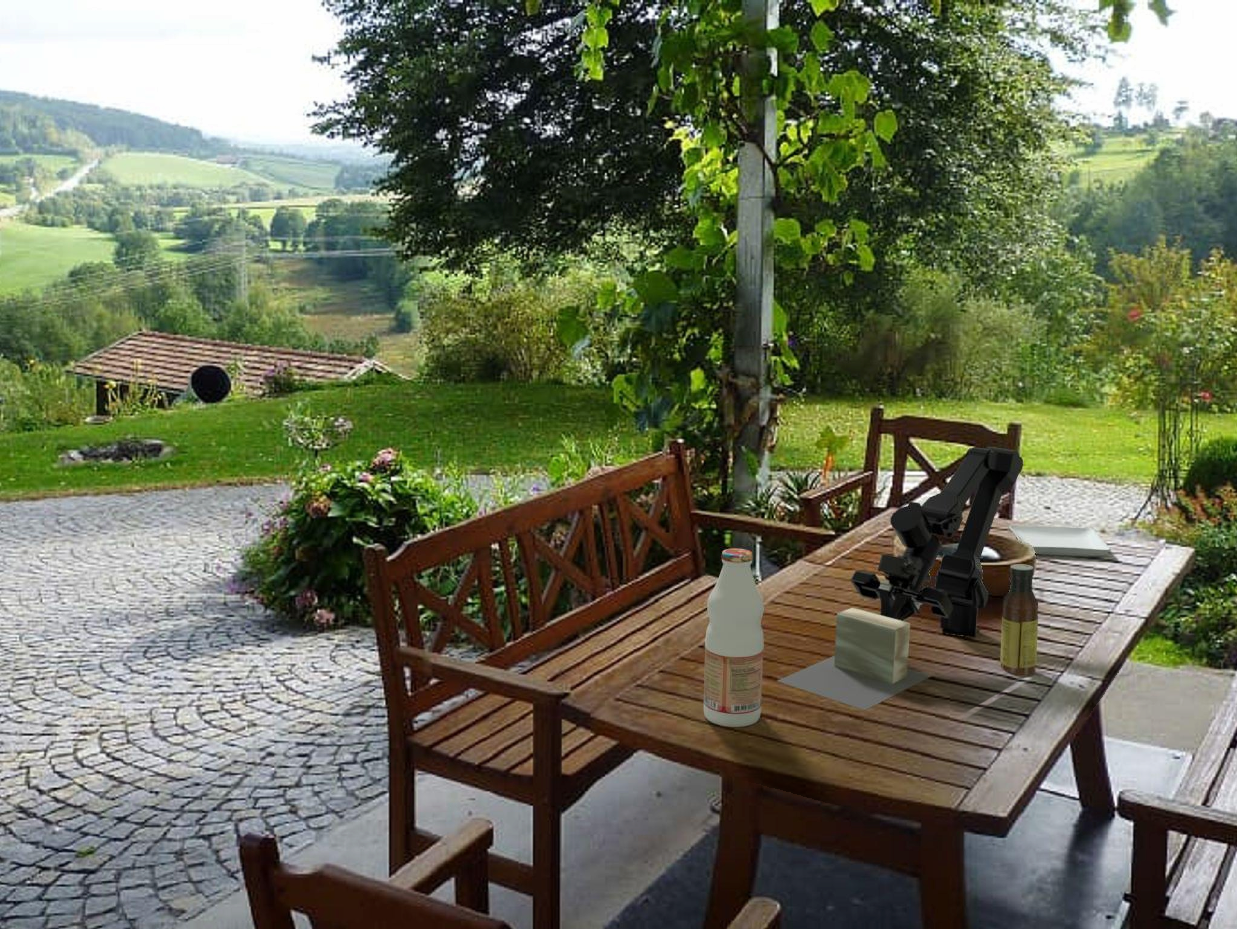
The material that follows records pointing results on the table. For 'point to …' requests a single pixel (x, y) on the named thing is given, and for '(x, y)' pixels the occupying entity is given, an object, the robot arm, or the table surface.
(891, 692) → the rubber mat
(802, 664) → the table surface
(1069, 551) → the salad plate
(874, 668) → the birch block
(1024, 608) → the sauce bottle
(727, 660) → the white milk bottle
